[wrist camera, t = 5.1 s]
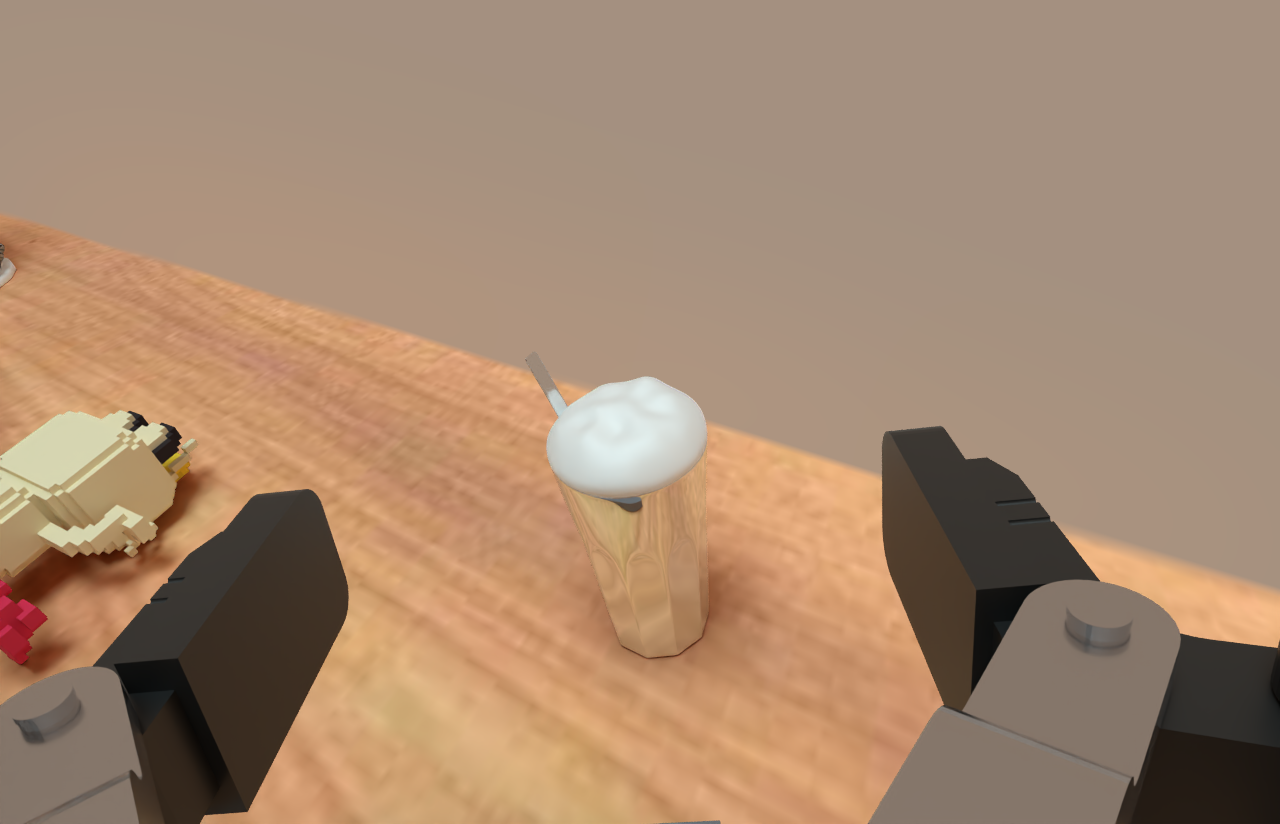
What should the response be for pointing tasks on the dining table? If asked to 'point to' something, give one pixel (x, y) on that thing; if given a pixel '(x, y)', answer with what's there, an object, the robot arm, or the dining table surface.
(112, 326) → the dining table surface
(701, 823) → the charcoal mat
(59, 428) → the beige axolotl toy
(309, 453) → the dining table surface
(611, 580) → the milkshake
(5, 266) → the decorative candle
